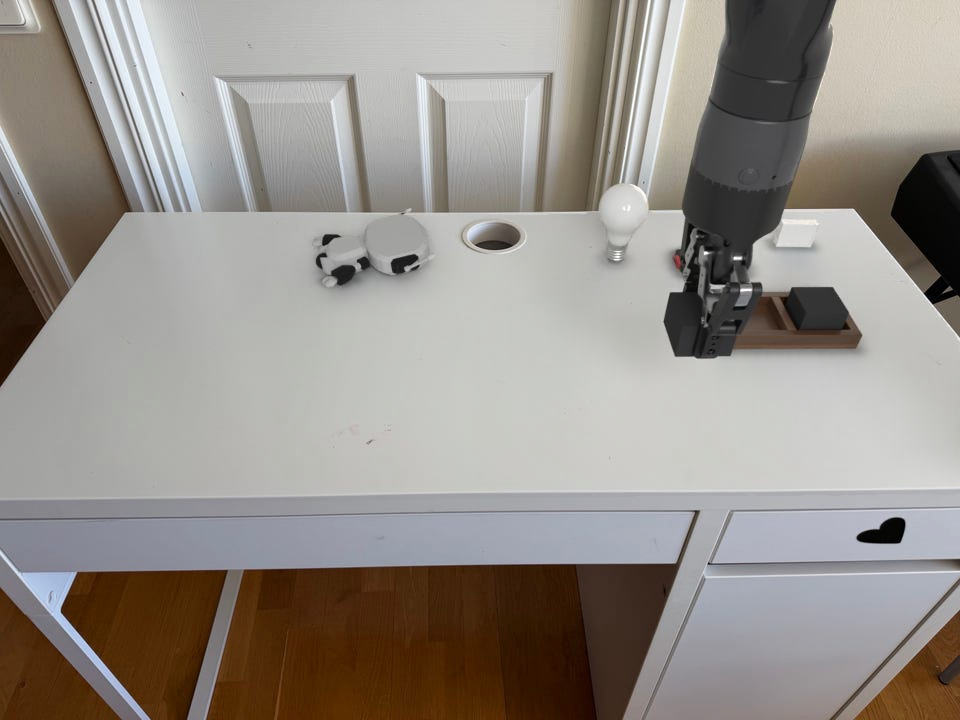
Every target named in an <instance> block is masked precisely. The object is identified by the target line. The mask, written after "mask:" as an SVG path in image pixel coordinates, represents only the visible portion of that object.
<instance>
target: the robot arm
mask: <svg viewBox="0 0 960 720" xmlns="http://www.w3.org/2000/svg"><path fill="white" fill-rule="evenodd" d="M837 1H838V0H724V33H723V36H722V39H721V42H720V46H719V49H718V50H719V51H718V53H717V58H716V62H715V65H714V66H715V67H714V70H713V71H714V72H713V75H712V80H711V86H710V90H709V95H708V98H707V101H706V105H705V108H704V110H703V112H702V115H701V119H700V122H699V125H698V128H697V132H696V137H695V140H694V146H693V149H692V150H693V151H692V155H691V160H690V165H689V170H688V173H687V179H686V182H685V188H684V192H683V197H682V202H681V211H682V214H683V216H684V222H683V223H684V224H683V231H682V236H681V245H680V249H681V251H680V256H679V261H680V264H681V265H686V266H685V268H684V270H683V273H682V272H681V273H682V274H681V278H682V281H683V282H684V284H683V288H682V292H698V296H699V297H700V298H701V299H702V300H703V303H702V311H701V318H700V323H699V328H698V331H697V335H696V339H695V342H694V346H693V350H692V351H693V354H694V357H693V358H695V359H698V360H706V359H707V360H709V359H710V360H713V359H716V358H718V357H720V356H719V354H720V351H721V347H722V344H723V341H724V338H725V335H741V334H742V332H743V330H744V328H745V326H746V324H747V322H748V320H749V319H750V317H751V315H752V313H753V311H754V309H755V307H756V305H757V303H758V301H759V299H760V298H761V296H762V292H764V288H763V287H764V286H763V284H762V282H761V281H751V280H750V277H749V274H748V271H749V269H750V267H751V266H752V264H753V256H754V244H755V243H756V242H758V240H760V239H762V238H764V237H765V236H767V235H769V234H771V233H773V232H774V231H775V230H776V229H778V226H779V223H780V221H781V220H782V217H783V216H784V215H783V214H784V211H785V209H786V206H787V202H788V199H789V196H790V193H791V190H792V187H793V184H794V181H795V178H796V175H797V171H798V168H799V165H800V162H801V159H802V156H803V153H804V151H805V147H806V144H807V139H808V135H809V130H810V123H811V118H812V114H813V110H814V107H815V104H816V101H817V99H818V95H819V93H820V89H821V86H822V82H823V80H824V78H825V77H824V76H825V73H826V71H827V68H828V64H829V60H830V57H831V53H832V48H833V44H834V27H833V24H832V22H831V21H832V17H833V14H834V11H835V8H836V5H837ZM747 270H748V271H747ZM711 285H714V286H722V287H720V288H712V286H711ZM715 302H718V303H717V305H716V307H715V309H714V312H713V313H712V307H713V304H714V303H715Z"/></svg>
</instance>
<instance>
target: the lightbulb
mask: <svg viewBox="0 0 960 720" xmlns="http://www.w3.org/2000/svg"><path fill="white" fill-rule="evenodd" d="M597 209H598V211H597V212H598V217H599V220H600V223H601V224H602V225H603V227H604V230H605V233H606V238H607V239H606V240H607V245H606V251H605V256H606V258H607V259H609V260H610V261H613V262H621V261H623V260H625V259H626V258H627V253H628V248H629V247H628V246H629V243H630V241H631V240H632V238H633V236H634V234H635V232H637V231H638V230H639V229H640V228H641V227H642V226H643V225H644V223H645V222H646V220H647V218H648V216H649V211H650V203H649V199H648V196H647V195H646V193H645V192H644V191H643V189H642V188H640V187H639V186H637V185H636V184H633V183H629V182H621V183H616V184H614V185H612V186H610V187H609V188H607V189H606V190H605V191H604V193H603V194H602V195H601V197H600V199H599V202H598V207H597Z"/></svg>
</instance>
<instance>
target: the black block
mask: <svg viewBox="0 0 960 720" xmlns="http://www.w3.org/2000/svg"><path fill="white" fill-rule="evenodd" d="M789 292H790V293H789V296H788V298H787V301H786V303H785V306H784V307H785V309H786V311H787V313H788V315H789V317H790V319H791V320H792V322H793V324H794V326H795V328H796V330H842V328H843V325H844V323H845V321H846V319H847V317H848V315H849V314H850V311H849V310H848V308H847V307H846V305H845V303H844V302H843V300H842V299H841V297H840V295H839V294H838V293H837V290H836V289H835V288H834V287H833V286H791V288H790V290H789Z"/></svg>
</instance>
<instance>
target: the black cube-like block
mask: <svg viewBox="0 0 960 720" xmlns="http://www.w3.org/2000/svg"><path fill="white" fill-rule="evenodd" d="M702 303H703V300H702V299H701V298H700V297H699V296H698V292H683V291H670V292H669V296H668V298H667V303H666V307H665V311H664V316H663V321H662V322H663V325H664V328H665V332H666V334H667V338H668V340H669V343H670V346H671V349H672V352H673V355H674V357H675V358H695V357H694V354H693V351H692V350H693V346H694V342H695V339H696V335H697V331H698V328H699V323H700V318H701V311H702ZM717 303H718V302H715V303H714V304H713V307H712V313H713V312H714V309H715V307H716V305H717ZM736 338H737V335H725V338H724V341H723V344H722V347H721V351H720V354H719V356H718V357H731V356H732V353H733V350H734V349H733V347H734V344H735V341H736Z"/></svg>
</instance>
